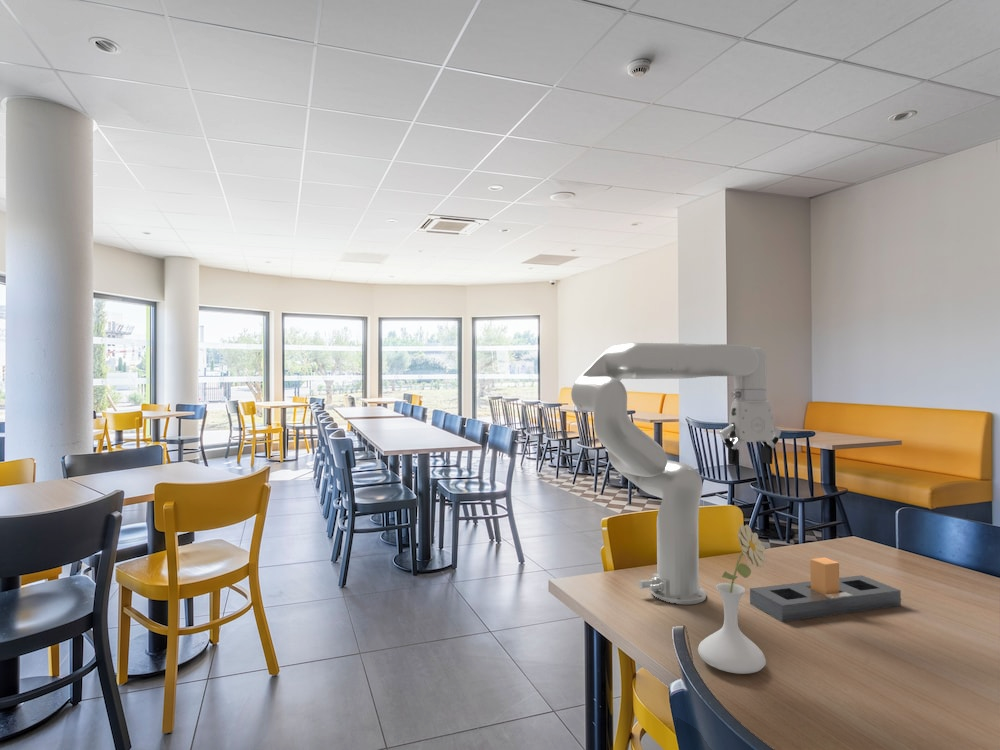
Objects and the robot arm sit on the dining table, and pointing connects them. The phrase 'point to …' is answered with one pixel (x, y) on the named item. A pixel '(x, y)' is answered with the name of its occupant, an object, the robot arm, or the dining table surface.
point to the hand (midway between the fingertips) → (750, 464)
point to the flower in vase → (735, 617)
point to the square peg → (824, 575)
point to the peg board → (824, 599)
